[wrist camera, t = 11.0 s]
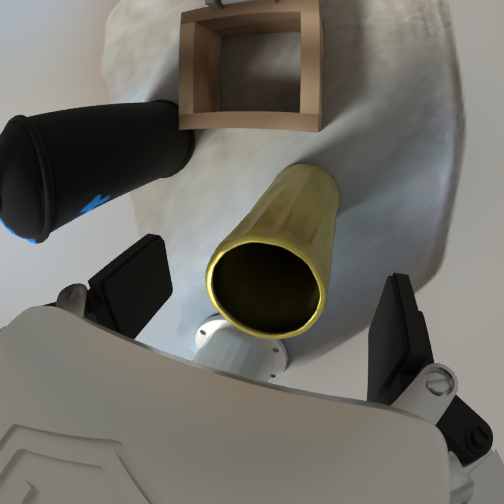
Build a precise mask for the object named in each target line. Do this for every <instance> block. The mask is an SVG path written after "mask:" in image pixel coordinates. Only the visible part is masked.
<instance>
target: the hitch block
mask: <svg viewBox="0 0 504 504" xmlns="http://www.w3.org/2000/svg"><path fill="white" fill-rule="evenodd" d="M205 4H206V5H208V6H209V7H204V8H200V9H195V10H191V11H187V12H183V13H181V26H180V47H179V130H184V129H206V128H259V129H281V130H296V131H308V132H320V131H322V112H323V77H324V39H323V19H322V13H321V8H320V4H319V0H260V1H250V2H241V3H233V4H226V5H223V4H222V2H221V0H205ZM275 32H301V92H300V113H292V112H268V111H229V112H220V95H221V37H223V36H232V35H242V34H254V33H275Z"/></svg>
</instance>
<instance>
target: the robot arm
mask: <svg viewBox="0 0 504 504" xmlns="http://www.w3.org/2000/svg"><path fill="white" fill-rule="evenodd" d="M88 283H89V286H90V289H89V290H87V287H86V286H85V285H83V284H72V285H69V286H68V287H66V288H65V289H63V290H62V291H61V292H60V293H59V295H58V298H57V301H56V302H54V303H50V304H46V305H42V306H35V307H30V308H28V309H26V310H25V311H23V312H22V313H21V314H20V315H18V316H17V317H16V318H15V319H14V320H13V321H11V322H10V323H9V324H8V325H7V326H5V327H3V328H1V329H0V504H504V464H503V462H502V460H501V458H500V456H499V454H498V452H497V450H494V451H492V449H491V446H492V443H493V433H492V430H491V428H490V426H489V425H488V424H487V423H486V422H485V421H484V420H483V419H482V418H481V417H480V416H479V415H478V414H477V413H475V412H474V411H473V410H472V409H471V408H470V407H469V406H468V405H467V404H466V403H465V402H463V401H462V400H461V399H460V398H459V397H458V396H457V395H456V392H457V389H458V381H457V378H456V376H455V374H454V372H453V371H452V370H451V369H450V368H448V367H447V366H445V365H443V364H439V363H434V359H433V354H432V350H431V345H430V341H429V336H428V331H427V327H426V323H425V319H424V315H423V313H422V312H421V311H418V307H417V304H416V300H415V296H414V293H413V289H412V286H411V282H410V279H409V276H408V275H406V274H399V273H393V275H392V276H388V277H387V280H386V283H385V286H384V290H383V293H382V296H381V298H380V301H379V304H378V307H377V310H376V313H375V315H374V318H373V321H372V323H371V326H370V329H369V334H368V347H369V349H368V350H369V351H368V353H369V354H368V356H369V357H368V392H367V401H363V400H357V399H352V398H344V397H337V396H331V395H326V394H320V393H315V392H309V391H305V390H299V389H294V388H289V387H285V386H280V385H275V384H271V383H268V382H270V381H273V380H275V379H277V378H278V377H279V376H281V375H282V373H283V372H284V370H285V367H286V364H287V359H288V357H287V351H286V349H285V346H284V344H283V343H282V341H281V340H280V339H264V338H259V337H256V336H252V335H250V334H248V333H246V332H244V331H242V330H240V329H238V328H237V327H235V326H233V325H232V324H231V323H229V322H228V321H227V320H226V319H225V318H224V317H223V316H222V315H216V316H212V317H210V318H208V319H206V320H205V321H204V322H203V323H201V325H200V326H199V328H198V329H197V332H196V334H195V344H196V347H197V350H198V352H197V354H196V356H195V357H194V359H193V360H192V361H190V360H186V359H184V358H181V357H178V356H175V355H172V354H169V353H167V352H164V351H161V350H159V349H156V348H153V347H151V346H148V345H145V344H143V343H141V342H138V341H136V340H134V339H135V338H136V336H137V335H138V334H139V333H140V332H141V330H142V329H143V328H144V327H145V326H146V324H147V323H148V322H149V321H150V320H151V319H152V317H153V316H154V315H155V314H156V313H157V311H158V310H159V309H160V308H161V307H162V305H163V304H164V303H165V302H166V301H167V300H168V299H169V297H170V296H171V295H172V292H173V287H172V282H171V276H170V271H169V266H168V260H167V254H166V248H165V242H164V240H163V239H162V238H161V236H159V235H154V234H147V235H145V236H144V237H143V238H141V239H140V240H139V241H137V242H136V243H135V244H133V245H132V246H131V247H129V248H128V249H127V250H126V251H124V252H123V253H122V254H120V255H119V256H118V257H117V258H115V259H114V260H113V261H111V262H110V263H109V264H108V265H106V266H105V267H104V268H103V269H102V270H100V271H99V272H98V273H97V274H95V275H94V276H93V277H92V278H91V279H89V280H88Z"/></svg>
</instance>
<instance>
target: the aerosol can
mask: <svg viewBox="0 0 504 504" xmlns="http://www.w3.org/2000/svg"><path fill="white" fill-rule="evenodd" d="M193 145H194V131H193V129H184V130H179V105H177V104H176V103H174V102H172V101H168V100H155V101H151V102H141V103H121V104H108V105H97V106H89V107H80V108H73V109H67V110H60V111H55V112H49V113H44V114H39V115H35V116H30V117H26V116H24V115H17V116H15V117H13V118H12V119H10V120H9V121H8V123H7V124H6V126H5V128H4V130H3V131H2V133H1V134H0V221H1V222H2V224H3V225H4V226H5V227H6V228H7V229H8V230H9V231H10V232H11V233H12V234H14V235H16V236H18V237H21V238H23V239H27V240H28V241H30V242H32V243H35V244H38V243H42V242H44V241H45V240H46V239H47V238H48V236H49V234H50V233H51V232H53V231H54V230H56V229H58V228H59V227H61V226H63V225H64V224H66V223H68V222H70V221H72V220H74V219H76V218H77V217H79V216H81V215H83V214H85V213H87V212H89V211H90V210H93V209H95V208H96V207H98V206H100V205H102V204H104V203H106V202H108V201H110V200H113V199H115V198H117V197H119V196H121V195H123V194H125V193H127V192H130V191H132V190H134V189H136V188H138V187H141V186H143V185H145V184H147V183H150V182H152V181H154V180H157V179H159V178H167V177H171V176H173V175H175V174H177V173H178V172H179V171H180V170H182V169H183V167H184V166H185V165H186V164H187V162H188V160H189V158H190V156H191V154H192V150H193Z"/></svg>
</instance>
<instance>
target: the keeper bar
mask: <svg viewBox="0 0 504 504" xmlns="http://www.w3.org/2000/svg"><path fill="white" fill-rule="evenodd" d="M250 1H260V0H221V2H222V4H223V5H226V4H233V3H241V2H250Z"/></svg>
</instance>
